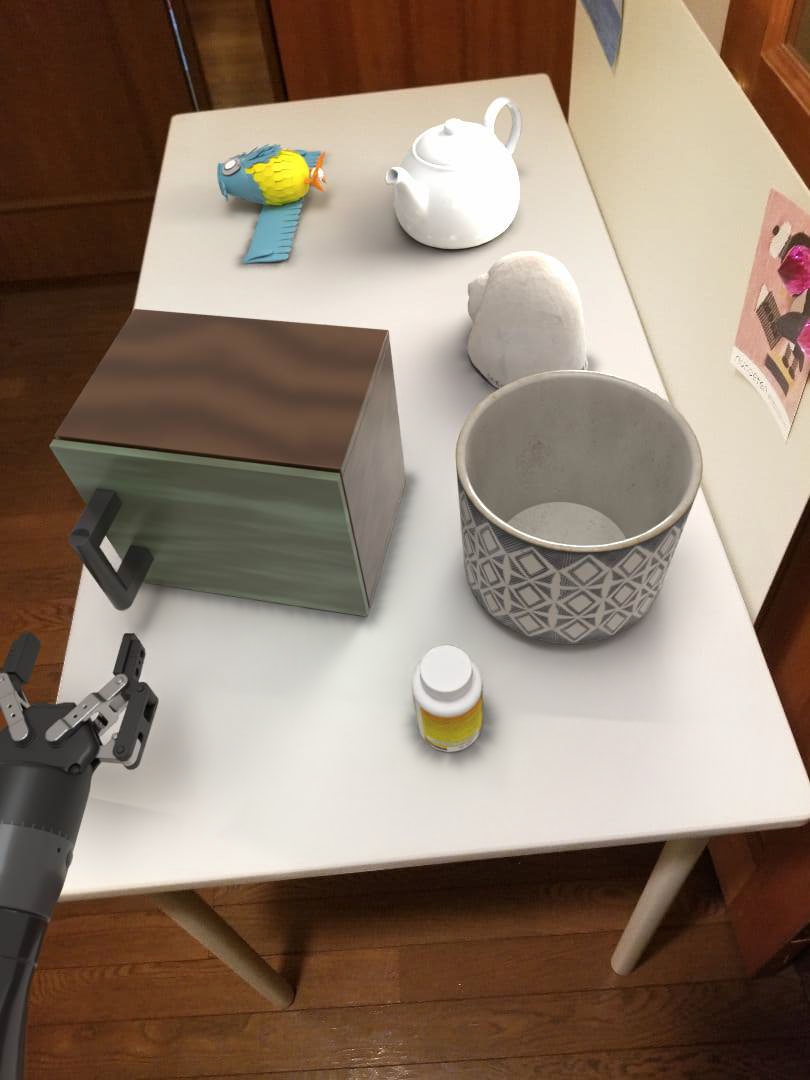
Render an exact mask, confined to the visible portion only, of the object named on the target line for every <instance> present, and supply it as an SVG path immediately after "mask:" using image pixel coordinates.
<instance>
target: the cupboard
mask: <svg viewBox="0 0 810 1080" xmlns="http://www.w3.org/2000/svg"><path fill="white" fill-rule="evenodd" d="M390 338H391V337H390V331H389V329H382V328H372V327H371V328H367V327H357V326H346V325H335V324H334V325H333V324H321V323H310V322H309V323H308V322H299V321H288V320H287V321H286V320H275V319H261V318H252V317H251V318H249V317H239V316H238V317H237V316H228V315H226V316H225V315H216V314H215V315H214V314H204V313H203V314H202V313H192V312H191V313H190V312H180V311H179V312H177V311H167V310H166V311H165V310H155V309H143V308H142V309H141V308H134V309H133V310H132V312H131V313H130V315H129V316H128V318H127V320H126V321H125V323H124V324H123V326H122V327H121V329H120V331H119V333H118V334H117V336H116V337H115V339H114V340H113V342H112V344H111V345H110V347H109V348H108V349H107V351H106V353H105V355H104V356H103V357H102V358H101V361H100V362H99V364H98V366H97V367H96V369H95V370H94V372H93V374H92V375H91V377H90V378H89V380H88V381H87V383H86V384H85V386H84V387H83V389H82V391H81V392H80V394H79V396H77V399H76V400H75V402H74V403H73V405H72V407H71V408H70V410H69V412H68V413H67V414H66V416H65V417H64V419H63V421H62V423H61V424H60V425H59V427H58V429H57V431H56V432H55V433H54V437H55V439H56V440H64V441H73V442H81V443H90V444H98V445H106V446H115V447H123V448H132V449H140V450H148V451H157V452H165V453H174V454H182V455H190V456H199V457H207V458H216V459H224V460H232V461H241V462H249V463H258V464H266V465H274V466H283V467H291V468H299V469H308V470H316V471H325V472H333V473H340V477H341V482H342V486H343V491H344V496H345V500H346V505H347V510H348V514H349V519H350V524H351V528H352V533H353V537H354V542H355V547H356V551H357V556H358V561H359V565H360V570H361V574H362V579H363V584H364V588H365V593H366V598H367V602H368V607H369V609H370V608H371V606H372V602H373V600H374V595H375V592H376V588H377V585H378V582H379V577H380V575H381V571H382V568H383V564H384V561H385V557H386V553H387V550H388V546H389V543H390V539H391V535H392V532H393V529H394V525H395V522H396V518H397V515H398V511H399V507H400V504H401V500H402V497H403V492H404V490H405V486H406V482H407V477H406V469H405V461H404V460H405V459H404V450H403V443H402V434H401V425H400V417H399V416H400V415H399V408H398V397H397V390H396V383H395V382H396V381H395V374H394V372H395V371H394V364H393V356H392V355H393V354H392V348H391V347H392V346H391V339H390Z"/></svg>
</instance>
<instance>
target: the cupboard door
mask: <svg viewBox="0 0 810 1080" xmlns="http://www.w3.org/2000/svg"><path fill="white" fill-rule="evenodd" d="M48 446H49V448H50V450H51V451H52V453H53V455H54V456H55V458H56V459H57V462H59V464H60V465H61V468H62V469H63V470H64V472H65V473H66V475H67V477H68V478H69V480H70V482H71V483H72V485H73V486H74V488H75V489H76V491H77V492H78V494H79V496H80V498H81V499H82V500H83V502H84V504H85V508H84V509H83V511H82V513H81V515H80V516H79V518H78V520H77V522H76V523H75V525H74V527H73V529H72V530H71V532H70V534H69V536H68V538H67V542H68V544H69V545H70V547H71V548H72V550H73V551H74V553H75V554H76V556H77V557H78V558H79V560H80V561H81V563H82V564H83V565H84V567H85V568H86V569H87V571H88V573H89V574H90V575H91V577H92V578H93V579H94V581H95V582H96V583H97V585H98V587H99V588H100V589H101V591H102V592H103V594H104V595H105V596H106V598H107V599H108V601H109V602H110V603H111V605H112V606H113V608H114V609H115V610H117V611H120V612H121V611H122V612H123V611H127V610H128V609H129V608H130V607H132V605H133V604H134V601H135V599H136V598H137V595H138V593H139V591H140V589H141V587H142V585H143V583H145V584H152V585H160V586H165V587H171V588H179V589H186V590H191V591H197V592H204V593H211V594H216V595H224V596H230V597H236V598H242V599H243V598H244V599H249V600H258V601H263V602H270V603H276V604H283V605H289V606H295V607H302V608H309V609H316V610H323V611H327V612H328V611H329V612H334V613H342V614H348V615H355V616H361V617H368V615H369V612H370V608H369V607H368V602H367V598H366V593H365V588H364V584H363V579H362V574H361V570H360V565H359V561H358V556H357V551H356V547H355V542H354V537H353V533H352V528H351V524H350V519H349V514H348V510H347V505H346V500H345V496H344V491H343V486H342V482H341V477H340V473H333V472H325V471H316V470H308V469H299V468H291V467H283V466H274V465H266V464H258V463H249V462H241V461H232V460H224V459H216V458H207V457H199V456H190V455H182V454H174V453H165V452H157V451H148V450H140V449H132V448H123V447H115V446H106V445H98V444H90V443H81V442H73V441H64V440H57V439H56V438H54V439H52V441H51V442H50V444H49V445H48ZM105 538H107V540H108V542H109V543H110V544H111V546H112V547H113V550H114V551H115V552H116V554H117V556H118V557H119V559H120V560H121V563H120V564H119V566H118V568H117V570H116V569H115V568H114V566H113V565H112V563H111V562H110V560H109V558H108V557H107V556H106V554H105V553H104V551H103V550H102V548H101V545H102V543H103V541H104V539H105Z"/></svg>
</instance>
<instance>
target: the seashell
mask: <svg viewBox="0 0 810 1080" xmlns="http://www.w3.org/2000/svg"><path fill="white" fill-rule="evenodd" d="M467 296H468V300H467V312H468V313H467V314H468V316H469V318H470V320H471V321H472V323H473V325H472V328H471V331H470V333H469V337H468V341H467V354H468V357H469V358H470V361H471V363H472V365H473V366H474V367H475V368H476V369H477V370H478V371H479V372H480V374H482V376H483V377H484V378H485V379H486V380H487V381H488V382H489V383H490V384H491V385H492V386H493V387H495V388H497V389H500V388H501V387H503V386H505V385H507V384H509V383H512V382H514V381H516V380H519V379H522V378H525V377H528V376H531V375H535V374H540V373H545V372H552V371H563V370H583V371H588V368H589V362H588V357H587V349H586V348H587V347H586V335H585V332H586V331H585V330H586V329H585V320H584V319H585V318H584V312H583V311H584V310H583V305H582V300H581V297H580V293H579V289H578V287H577V285H576V283H575V281H574V279H573V277H572V275H571V274H570V272H569V271H568V269H567V268H566V267H565V265H564V264H563V263H561V262H560V261H559V260H558V259H556V258H555V257H553V256H551V255H548V254H546V253H542V252H539V251H535V250H526V251H525V250H523V251H522V250H521V251H516V252H513V253H509V254H507V255H504V256H502V257H501V258H499V259H498V260H497V261H495V262H494V263H493V264H492V266H491V267H490V269H488V270H487V272H486V273H482V274H480V275H477V276H476V277H475V278H474V279H473V280H471V281H470V282H469V283H468V284H467Z"/></svg>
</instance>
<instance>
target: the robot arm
mask: <svg viewBox="0 0 810 1080" xmlns="http://www.w3.org/2000/svg"><path fill="white" fill-rule="evenodd" d="M41 647H42V644H41V640H40V639H39V638H38V637H37V636H36V635H35V634H34V632H27V631H26V632H25V631H23V632H21V633H20V634H19V637H18V638H16V639H14V640H13V642H12V643H11V644H10V647H9V650H8V652H7V655H6V657H5V660H4V663H3V666H2V668H1V671H0V710H1V712H2V714H3V716H4V719H5V721H6V724H7V725H5V727H3V728H2V729H1V730H0V1080H27V1053H28V1052H27V1050H28V1033H29V1019H30V1006H31V995H32V988H33V983H34V980H35V979H34V978H35V976H36V972H37V969H38V965H39V961H40V958H41V955H42V951H43V948H44V943H45V940H46V937H47V933H48V929H49V927H50V922H51V919H52V917H53V913H54V910H55V908H56V905H57V903H58V901H59V899H60V896H61V894H62V891H63V888H64V885H65V882H66V879H67V875H68V871H69V868H70V866H71V865H72V863H73V858H74V850H75V846H76V842H77V840H78V837H79V832H80V828H81V825H82V822H83V818H84V814H85V811H86V807H87V803H88V800H89V797H90V792H91V785H92V778H93V775H94V774H95V772H96V771H97V769H98V767H100V765H102V763H105V764H119V765H122V766H123V767H124V768H125V769H126V770H128V771H133V770H135V769H138V767H139V766H140V764H141V762H142V757H143V755H144V752H145V748H146V745H147V741H148V738H149V735H150V732H151V729H152V727H153V722H154V719H155V715H156V713H157V709H158V706H159V702H160V701H159V697H158V695H156V693H155V692H154V691H153V690H152V688H151V687H150V685H149V684H148V682H145V681H140V678H141V674H142V670H143V667H144V663H145V660H146V655H147V651H146V648H145V646H144V645H143V644H142V642H141V640H140V639H139V637H138V636H137V634H136V633H135V632H124V634H123V635H122V639H121V642H120V646H119V649H118V653H117V656H116V659H115V663H114V667H113V671H112V675H113V677H112V679H110V680H109V681H108V682H106V684H105V685H104V686H103V687H102V688H100V689H99V690H98V691H96V692H95V691H93V692H90V693H89V694H88V695H87V696H86V697H84V699H82V700H81V701H80V702H79V703H78V704H76V703H75V702H74V701H73V702H71V701H70V702H68V701H64V702H59V703H54V704H52V703H49V702H47V701H46V702H45V701H34V703H33V705H30V703H29V701H28V699H27V696H26V694H25V692H24V690H23V686H24V685H25V686H26V685H27V686H28V685H29V682H30V679H31V677H32V674H33V671H34V669H35V668H34V667H35V665H36V662H37V659H38V656H39V655H40V654H39V653H40V651H41ZM123 711H124V714H123V717H122V720H121V723H120V726H119V729H118V731H117V732H113V733H112V734H111V736H110V739H109V741H108V742H107V743H105V744H103V742H102V740H101V737H102V736H104V734H105V733H106V732H107V731H108V730H109V729H111V727H113V726H114V725H115V724H116V723H118V720H119V716H120V714H121V713H122V712H123ZM97 713H98V714H97ZM95 714H97V716H96V718H94V719H92V716H93V715H95Z"/></svg>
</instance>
